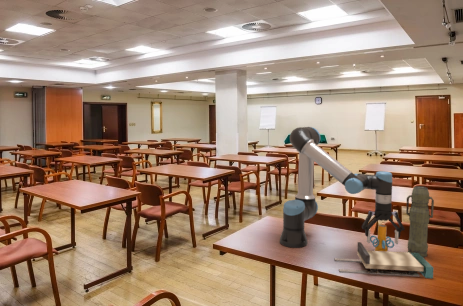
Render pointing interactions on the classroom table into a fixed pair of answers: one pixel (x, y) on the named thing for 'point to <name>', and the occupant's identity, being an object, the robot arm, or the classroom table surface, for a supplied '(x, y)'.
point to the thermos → (419, 220)
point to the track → (426, 273)
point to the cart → (388, 260)
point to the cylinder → (381, 239)
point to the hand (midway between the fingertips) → (382, 242)
